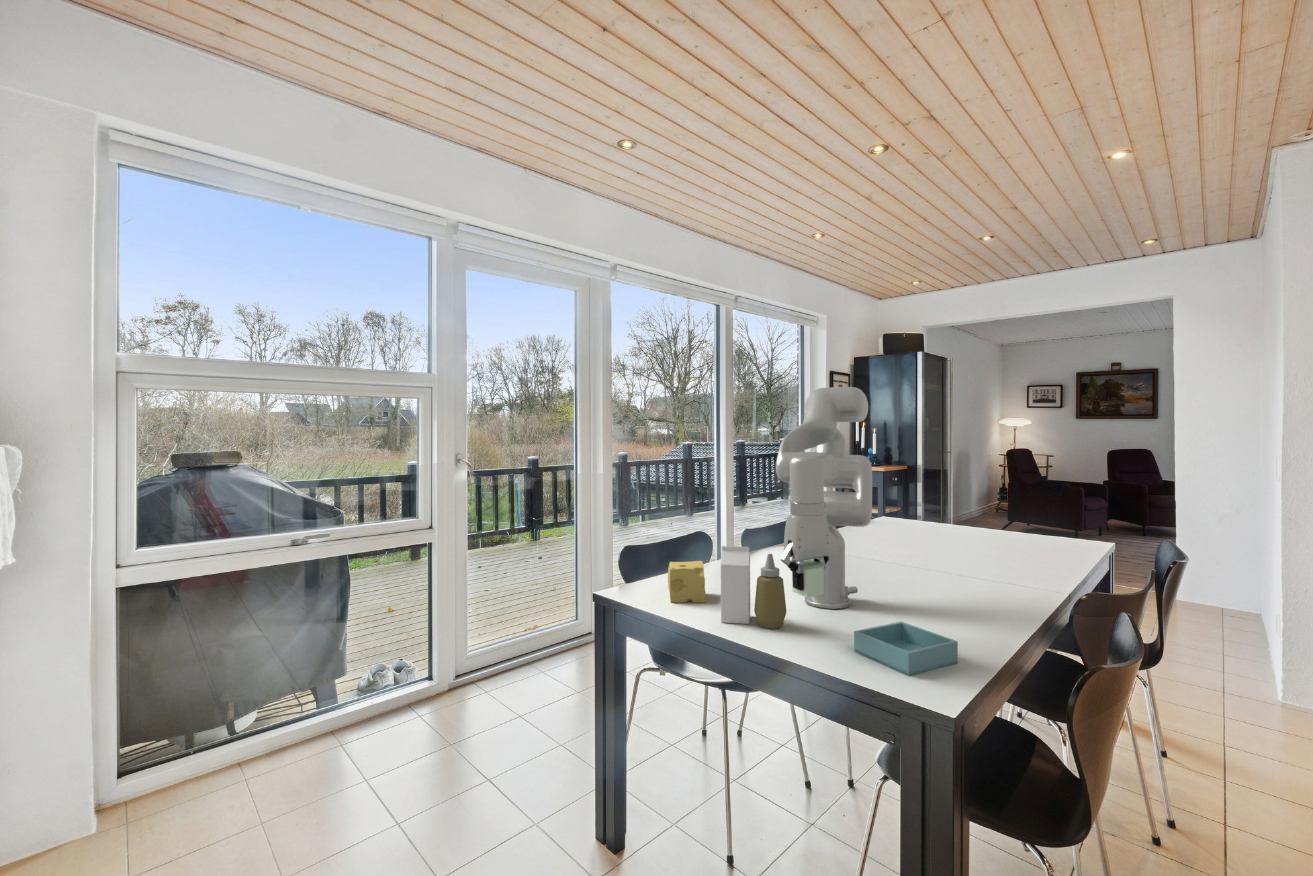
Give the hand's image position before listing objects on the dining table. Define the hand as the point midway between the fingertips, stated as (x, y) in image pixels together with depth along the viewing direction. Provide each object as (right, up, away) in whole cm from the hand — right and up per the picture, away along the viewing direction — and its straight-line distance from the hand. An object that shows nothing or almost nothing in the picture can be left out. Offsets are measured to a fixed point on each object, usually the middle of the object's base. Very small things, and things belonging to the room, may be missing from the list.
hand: (807, 586), depth 136 cm
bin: (+18, -13, -9) cm, 24 cm away
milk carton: (-14, -13, +17) cm, 26 cm away
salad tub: (0, -2, 0) cm, 2 cm away
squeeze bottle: (-6, -13, +12) cm, 19 cm away
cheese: (-26, -13, +37) cm, 47 cm away
